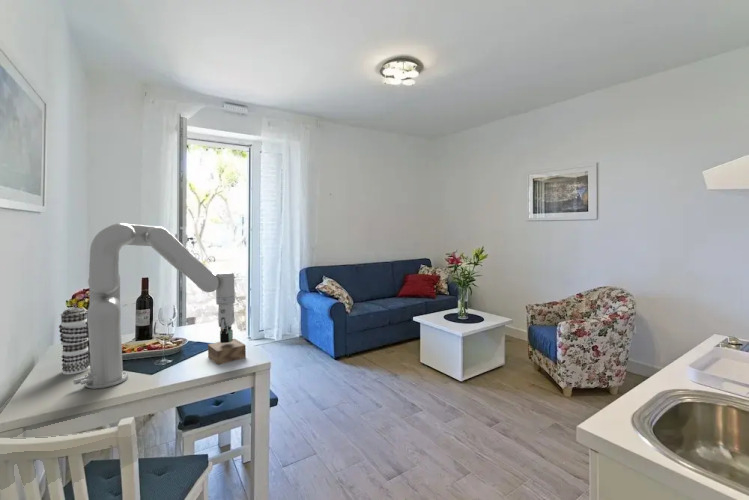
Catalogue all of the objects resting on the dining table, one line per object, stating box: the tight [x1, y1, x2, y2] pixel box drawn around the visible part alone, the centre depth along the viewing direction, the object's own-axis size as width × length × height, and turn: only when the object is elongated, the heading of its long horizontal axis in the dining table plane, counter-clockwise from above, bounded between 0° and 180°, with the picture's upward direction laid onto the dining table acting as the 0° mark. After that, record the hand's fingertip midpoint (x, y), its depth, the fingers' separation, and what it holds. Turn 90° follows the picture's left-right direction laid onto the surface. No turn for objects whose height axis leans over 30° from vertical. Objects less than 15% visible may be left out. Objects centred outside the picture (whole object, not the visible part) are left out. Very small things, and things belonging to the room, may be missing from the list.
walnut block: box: [207, 338, 247, 365], centre depth 155 cm, size 12×12×6 cm
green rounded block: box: [219, 328, 234, 342], centre depth 154 cm, size 5×5×4 cm
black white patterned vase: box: [58, 307, 90, 375], centre depth 140 cm, size 9×9×25 cm
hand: (226, 339), depth 154 cm, fingers closed on green rounded block, 5 cm apart
